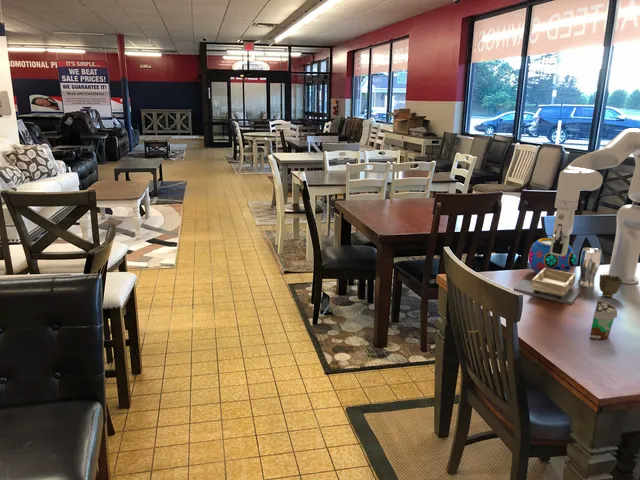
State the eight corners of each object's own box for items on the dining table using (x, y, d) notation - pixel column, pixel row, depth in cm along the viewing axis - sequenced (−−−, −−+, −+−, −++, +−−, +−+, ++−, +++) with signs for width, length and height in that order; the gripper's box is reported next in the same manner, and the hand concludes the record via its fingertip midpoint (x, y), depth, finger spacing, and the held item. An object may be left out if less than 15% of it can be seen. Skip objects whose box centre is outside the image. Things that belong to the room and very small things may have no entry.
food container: (611, 346, 155) (617, 316, 153) (588, 341, 158) (594, 311, 156) (613, 331, 165) (619, 303, 163) (592, 326, 169) (597, 298, 166)
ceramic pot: (540, 283, 206) (546, 248, 202) (517, 269, 223) (522, 236, 218) (580, 282, 209) (586, 247, 204) (554, 268, 225) (559, 235, 221)
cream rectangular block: (552, 250, 194) (555, 233, 192) (566, 253, 192) (569, 235, 190) (549, 253, 191) (552, 235, 189) (563, 256, 188) (566, 238, 186)
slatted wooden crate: (542, 281, 205) (544, 267, 204) (573, 288, 199) (575, 274, 197) (529, 293, 192) (532, 279, 190) (562, 301, 185) (565, 286, 184)
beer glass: (594, 284, 207) (601, 249, 203) (595, 289, 201) (602, 253, 197) (576, 281, 210) (582, 246, 206) (576, 286, 204) (582, 251, 200)
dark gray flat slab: (523, 281, 208) (523, 279, 208) (579, 294, 196) (579, 291, 196) (513, 290, 198) (513, 288, 198) (571, 304, 186) (571, 302, 186)
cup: (621, 301, 190) (625, 281, 188) (599, 299, 191) (603, 279, 189) (614, 294, 197) (618, 274, 195) (593, 292, 198) (597, 273, 196)
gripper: (572, 209, 177) (563, 259, 182) (582, 202, 190) (574, 248, 195) (549, 206, 181) (542, 254, 187) (560, 199, 194) (553, 244, 200)
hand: (558, 251), depth 191 cm, fingers closed on cream rectangular block, 5 cm apart
